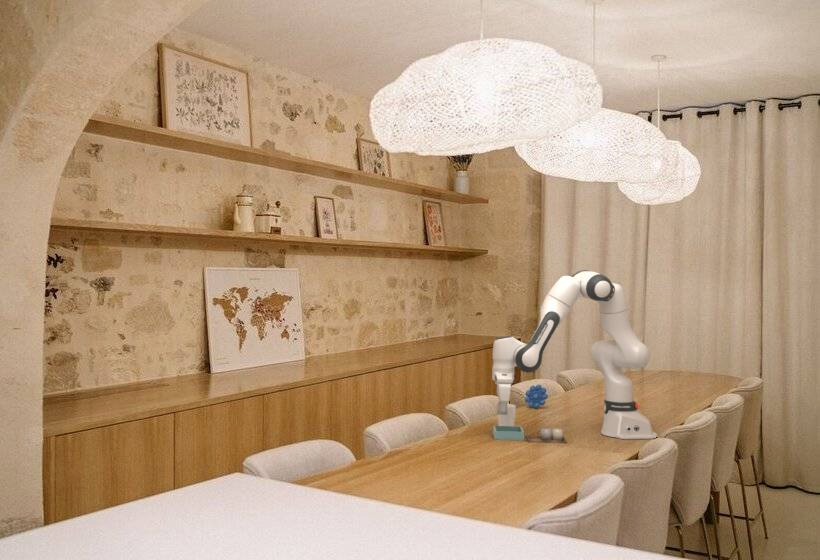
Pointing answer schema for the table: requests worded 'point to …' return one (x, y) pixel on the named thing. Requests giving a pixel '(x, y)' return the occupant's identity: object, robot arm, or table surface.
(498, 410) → the pebble
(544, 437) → the pebble
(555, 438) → the pebble
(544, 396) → the grapes
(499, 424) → the white cup
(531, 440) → the tray
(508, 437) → the teal square bin
